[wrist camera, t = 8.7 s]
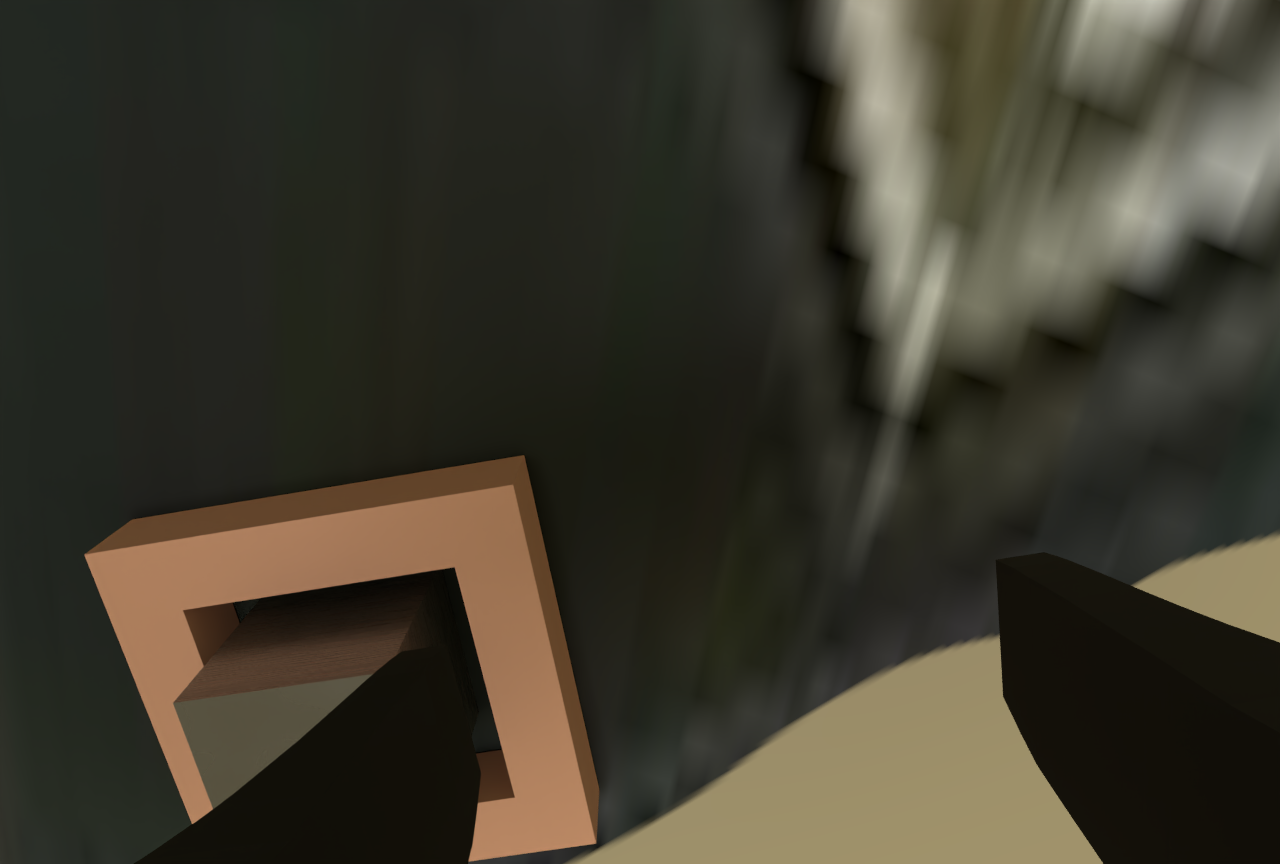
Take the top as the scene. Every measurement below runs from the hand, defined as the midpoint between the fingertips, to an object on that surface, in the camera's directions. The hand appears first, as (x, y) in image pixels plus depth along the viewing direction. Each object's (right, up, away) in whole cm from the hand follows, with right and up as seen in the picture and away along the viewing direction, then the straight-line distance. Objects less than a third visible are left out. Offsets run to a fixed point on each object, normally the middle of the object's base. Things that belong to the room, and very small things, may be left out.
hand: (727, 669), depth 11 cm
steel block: (-8, -3, +12) cm, 15 cm away
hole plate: (-8, -3, +12) cm, 15 cm away
